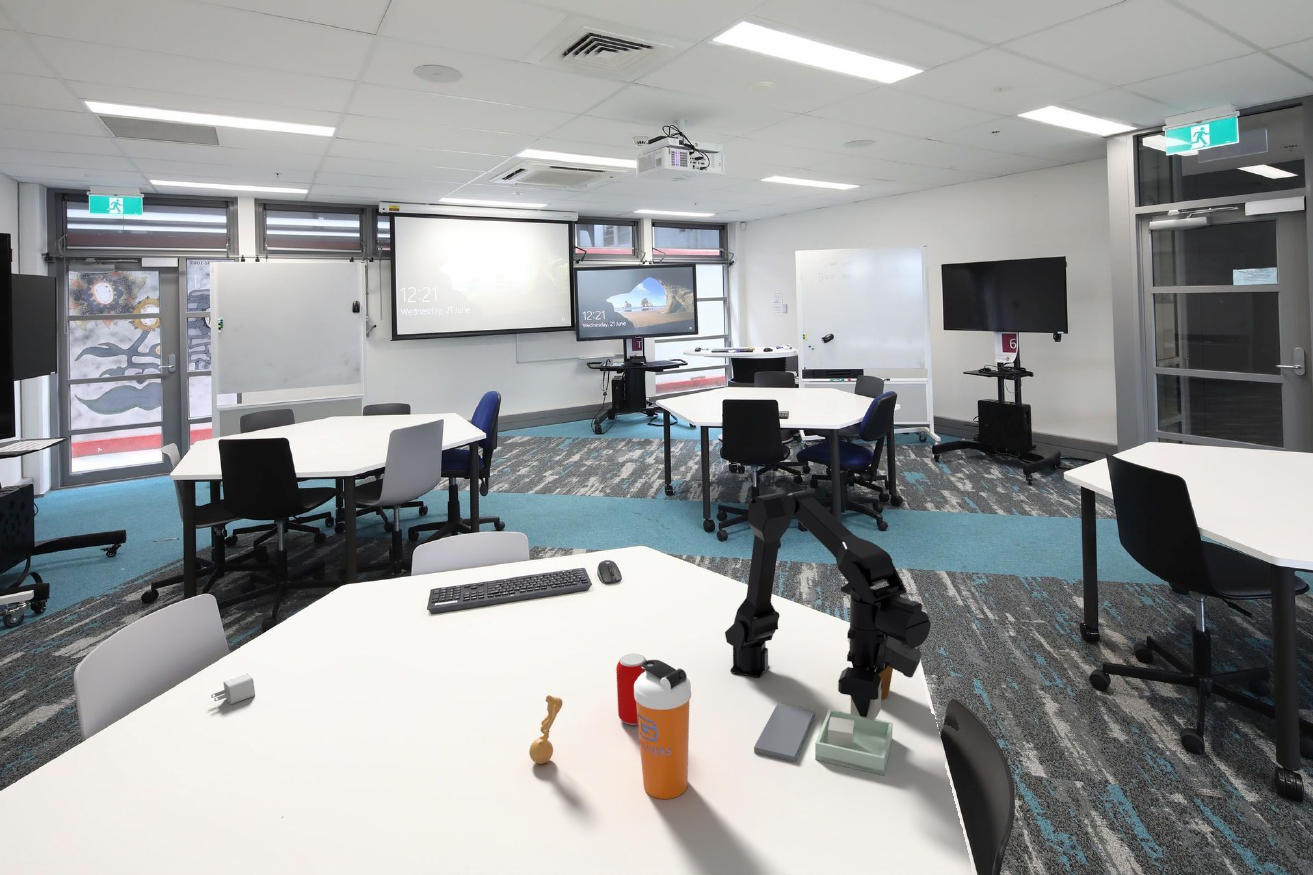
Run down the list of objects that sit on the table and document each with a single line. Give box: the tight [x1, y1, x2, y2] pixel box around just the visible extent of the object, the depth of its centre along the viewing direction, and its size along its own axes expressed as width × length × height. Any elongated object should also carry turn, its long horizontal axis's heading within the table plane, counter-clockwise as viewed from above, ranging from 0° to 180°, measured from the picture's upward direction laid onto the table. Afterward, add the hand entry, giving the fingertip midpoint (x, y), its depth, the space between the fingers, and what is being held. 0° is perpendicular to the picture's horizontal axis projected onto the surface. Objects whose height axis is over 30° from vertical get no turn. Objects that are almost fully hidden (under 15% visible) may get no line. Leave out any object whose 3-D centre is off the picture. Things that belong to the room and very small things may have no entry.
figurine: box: [528, 694, 563, 765], centre depth 118 cm, size 8×6×12 cm
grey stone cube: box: [850, 691, 882, 721], centre depth 120 cm, size 4×4×4 cm
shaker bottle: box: [634, 659, 692, 800], centre depth 111 cm, size 9×9×20 cm
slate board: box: [753, 702, 815, 763], centre depth 125 cm, size 7×15×1 cm, turn 155°
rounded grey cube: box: [828, 717, 854, 750], centre depth 119 cm, size 4×4×4 cm
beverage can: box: [615, 653, 647, 726], centre depth 130 cm, size 6×6×12 cm
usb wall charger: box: [210, 673, 256, 705], centre depth 142 cm, size 4×7×4 cm, turn 137°
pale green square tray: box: [814, 709, 894, 776], centre depth 120 cm, size 11×11×3 cm
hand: (865, 709), depth 120 cm, fingers closed on grey stone cube, 4 cm apart
